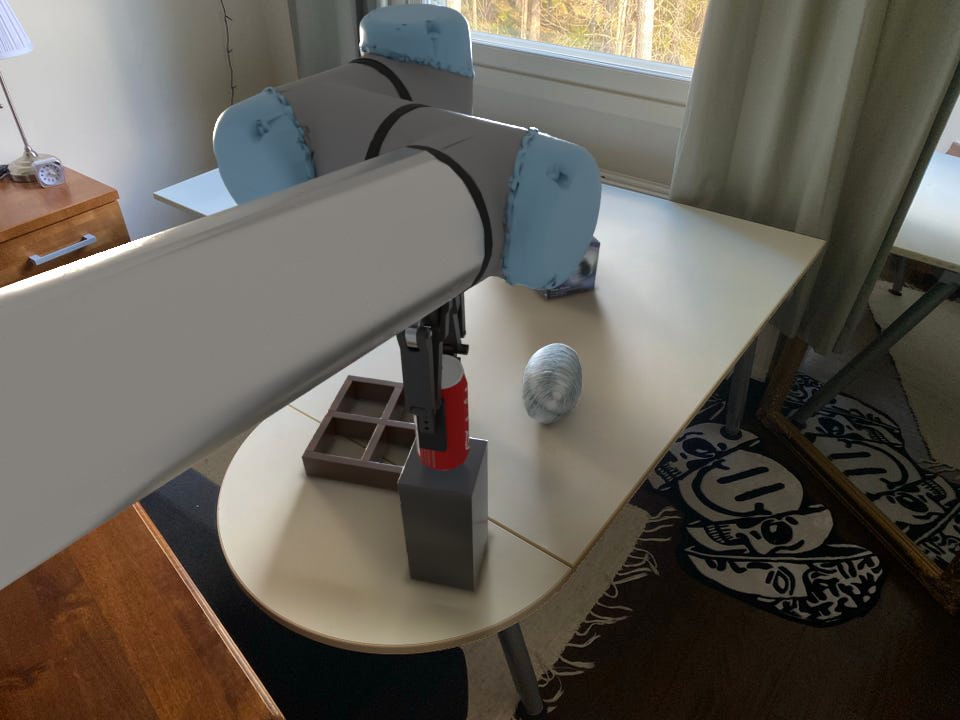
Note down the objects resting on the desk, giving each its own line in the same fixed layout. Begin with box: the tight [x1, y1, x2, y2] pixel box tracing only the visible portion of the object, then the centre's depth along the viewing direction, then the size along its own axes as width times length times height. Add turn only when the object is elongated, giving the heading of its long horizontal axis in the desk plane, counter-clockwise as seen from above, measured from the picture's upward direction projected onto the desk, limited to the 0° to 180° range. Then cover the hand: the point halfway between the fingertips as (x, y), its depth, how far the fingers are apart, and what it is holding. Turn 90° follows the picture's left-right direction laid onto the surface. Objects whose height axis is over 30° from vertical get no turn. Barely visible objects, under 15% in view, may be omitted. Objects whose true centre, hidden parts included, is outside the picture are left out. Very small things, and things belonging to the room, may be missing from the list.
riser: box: [397, 437, 489, 592], centre depth 78 cm, size 8×8×18 cm
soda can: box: [413, 354, 470, 470], centre depth 67 cm, size 6×6×12 cm
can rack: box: [301, 374, 416, 493], centre depth 98 cm, size 18×18×4 cm
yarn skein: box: [521, 342, 583, 425], centre depth 103 cm, size 14×10×10 cm
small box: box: [539, 235, 601, 300], centre depth 127 cm, size 11×6×10 cm, turn 112°
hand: (441, 425), depth 68 cm, fingers closed on soda can, 5 cm apart
